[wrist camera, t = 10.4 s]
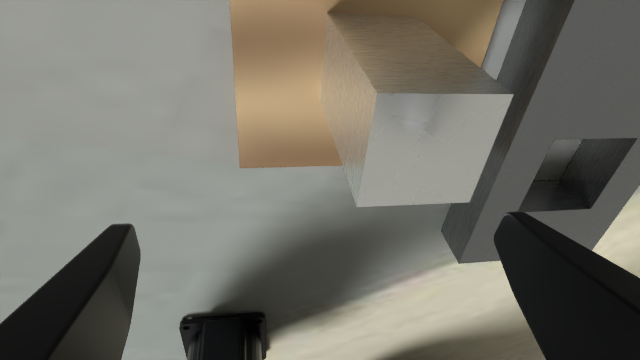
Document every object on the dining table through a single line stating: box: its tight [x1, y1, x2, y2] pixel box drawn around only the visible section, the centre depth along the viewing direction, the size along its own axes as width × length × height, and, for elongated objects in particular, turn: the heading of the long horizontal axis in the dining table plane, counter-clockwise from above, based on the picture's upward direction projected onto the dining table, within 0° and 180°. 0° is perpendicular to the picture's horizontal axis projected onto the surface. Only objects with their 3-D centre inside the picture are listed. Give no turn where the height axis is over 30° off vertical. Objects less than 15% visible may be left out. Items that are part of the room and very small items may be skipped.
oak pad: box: [230, 0, 503, 168], centre depth 18 cm, size 12×12×1 cm
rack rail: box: [441, 0, 640, 264], centre depth 21 cm, size 22×10×3 cm, turn 176°
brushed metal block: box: [320, 13, 514, 207], centre depth 15 cm, size 4×4×8 cm
